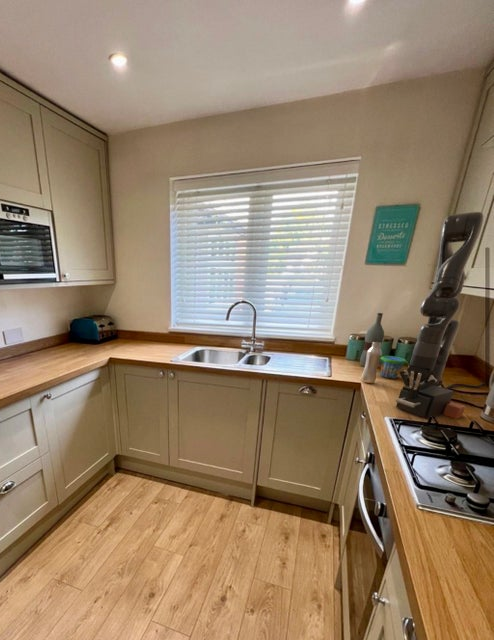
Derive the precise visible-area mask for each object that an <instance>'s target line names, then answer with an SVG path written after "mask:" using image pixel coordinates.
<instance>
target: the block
mask: <svg viewBox="0 0 494 640" xmlns="http://www.w3.org/2000/svg"><path fill="white" fill-rule="evenodd" d="M465 409H466V405H462V404H459V403H456V402H450V403H449V404H447V405H446V408H445V411H444V413H443V414H442V415H444V416H447V417H450V418H452V419H455V420H456V419H459V418H462V417H463V415H464V412H465Z"/></svg>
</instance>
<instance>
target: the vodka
mask: <svg viewBox="0 0 494 640" xmlns="http://www.w3.org/2000/svg"><path fill="white" fill-rule="evenodd" d="M383 315H384V313H383V312H377V314H376V319H375V322H374V323H373V325H371V327H369V329H368V330H367V331H366V333H365V337H364V344H363V350H362V353H361V355H360V358H359V365H360V366H361V367H364V368H365V364H366V355H367V351H368V350H369V349H370V348H371V347H372V343H373V342H381V345H382V344H383V341H384V339H385V330H384V329H383V328H384V327H383V326H382V320H383Z"/></svg>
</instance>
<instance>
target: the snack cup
mask: <svg viewBox="0 0 494 640" xmlns="http://www.w3.org/2000/svg"><path fill="white" fill-rule="evenodd" d="M379 361H381V368H380V376H381V377H382V378H385V379H393V380H394V379H397V378H398V377H399V375H400V371H402V368H403V366H404V365H405V364H407V368H408V367H409V365H410V362H409V361H407V360H406V359H405V358H403V357H399V356H394V355H383V356H381V358H380V360H379ZM407 368H406V369H407Z"/></svg>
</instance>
